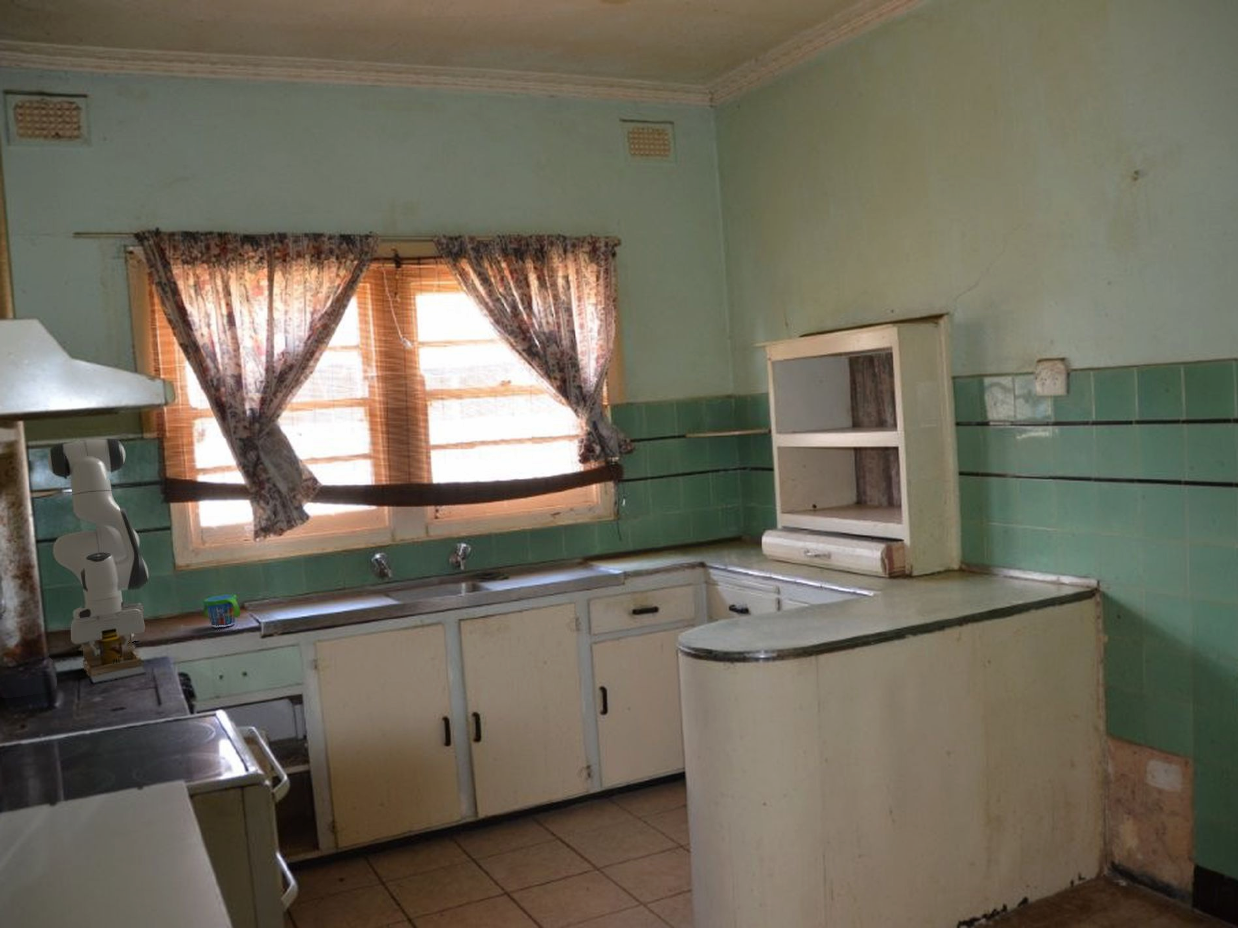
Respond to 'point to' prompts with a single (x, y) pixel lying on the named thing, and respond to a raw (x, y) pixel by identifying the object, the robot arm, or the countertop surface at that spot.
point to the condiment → (110, 648)
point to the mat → (118, 674)
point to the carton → (94, 661)
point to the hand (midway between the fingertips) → (111, 652)
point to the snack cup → (221, 609)
